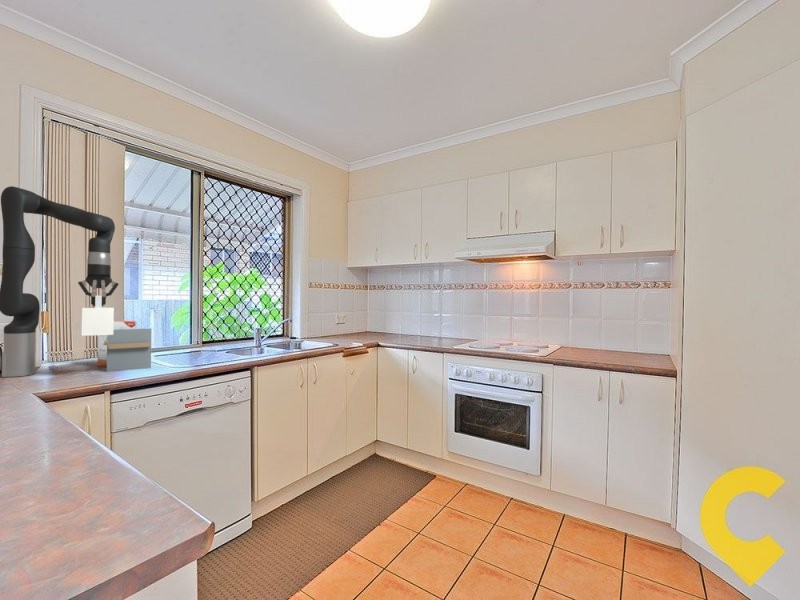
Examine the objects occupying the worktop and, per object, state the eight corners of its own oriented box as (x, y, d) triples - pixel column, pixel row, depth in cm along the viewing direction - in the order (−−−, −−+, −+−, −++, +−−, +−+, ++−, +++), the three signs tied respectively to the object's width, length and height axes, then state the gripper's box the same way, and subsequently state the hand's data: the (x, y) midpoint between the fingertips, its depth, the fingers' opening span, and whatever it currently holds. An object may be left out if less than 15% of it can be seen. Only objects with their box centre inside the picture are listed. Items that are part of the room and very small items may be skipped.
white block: (81, 335, 150) (82, 295, 150) (82, 334, 156) (83, 295, 155) (113, 334, 156) (114, 295, 156) (113, 333, 162) (113, 295, 162)
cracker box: (97, 367, 172) (97, 321, 172) (99, 365, 178) (100, 320, 177) (134, 365, 180) (135, 321, 179) (135, 363, 185) (136, 320, 185)
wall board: (106, 372, 162) (107, 330, 162) (106, 369, 168) (107, 329, 168) (151, 368, 172) (151, 329, 172) (149, 366, 178) (150, 327, 178)
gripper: (76, 262, 148) (75, 306, 148) (120, 264, 156) (119, 306, 156) (77, 263, 154) (76, 305, 154) (119, 265, 162) (119, 305, 162)
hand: (98, 305), depth 155 cm, fingers closed on white block
